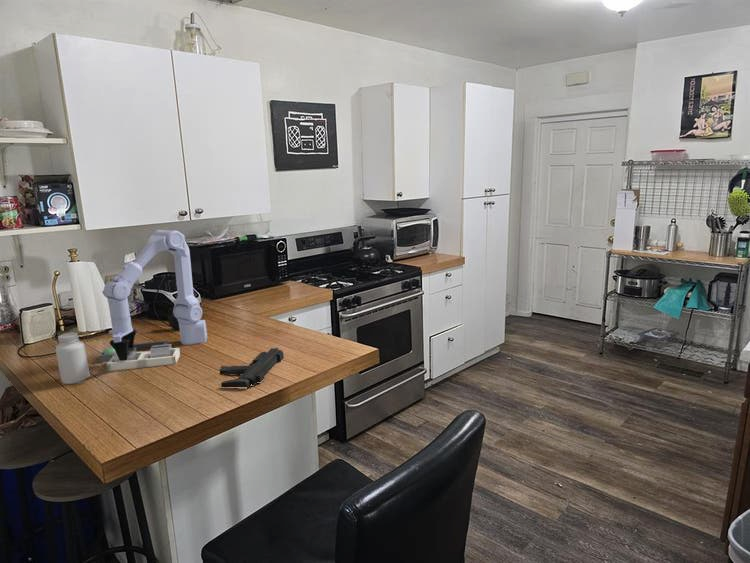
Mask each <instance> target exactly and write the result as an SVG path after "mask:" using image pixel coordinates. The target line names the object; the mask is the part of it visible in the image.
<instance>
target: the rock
mask: <svg viewBox="0 0 750 563" xmlns="http://www.w3.org/2000/svg"><path fill="white" fill-rule="evenodd" d="M173 309H174V307H169V308H167V316H166V317H167V320H168V325H169V326H170V328H171V329H176V330H180V329H179V322H178V319H177V318H176V317H175V316H174V314H173ZM200 320H202V317H201V318H200Z"/></svg>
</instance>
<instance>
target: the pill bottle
mask: <svg viewBox="0 0 750 563" xmlns="http://www.w3.org/2000/svg"><path fill="white" fill-rule="evenodd" d="M57 339H58V342H59V344H57V345H56V346H55V354H56V356H55V357H56V361H57V366H58V371H59V372H58V373H59V376H60V381H61V383H62V384H64V385H73V384H77V383H82V382H83V381H84V380H87V379H88V378H90V374H91V372H90V367H89V362H88V354H87V349H86V344H85V342H84V341H82V340H80V338H79V334H78V333H77V332H74V331H73V332H65V333H62V334H59V335H58V336H57Z"/></svg>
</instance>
